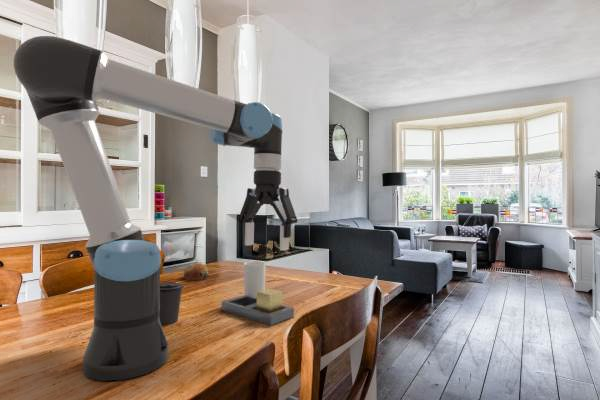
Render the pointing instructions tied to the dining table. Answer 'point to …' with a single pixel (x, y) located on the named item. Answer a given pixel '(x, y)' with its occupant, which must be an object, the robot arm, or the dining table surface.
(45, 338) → the dining table surface
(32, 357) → the dining table surface
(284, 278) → the dining table surface
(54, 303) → the dining table surface
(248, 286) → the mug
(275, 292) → the pale yellow block
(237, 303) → the grey flat frame
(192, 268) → the bread roll
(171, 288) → the coffee cup
